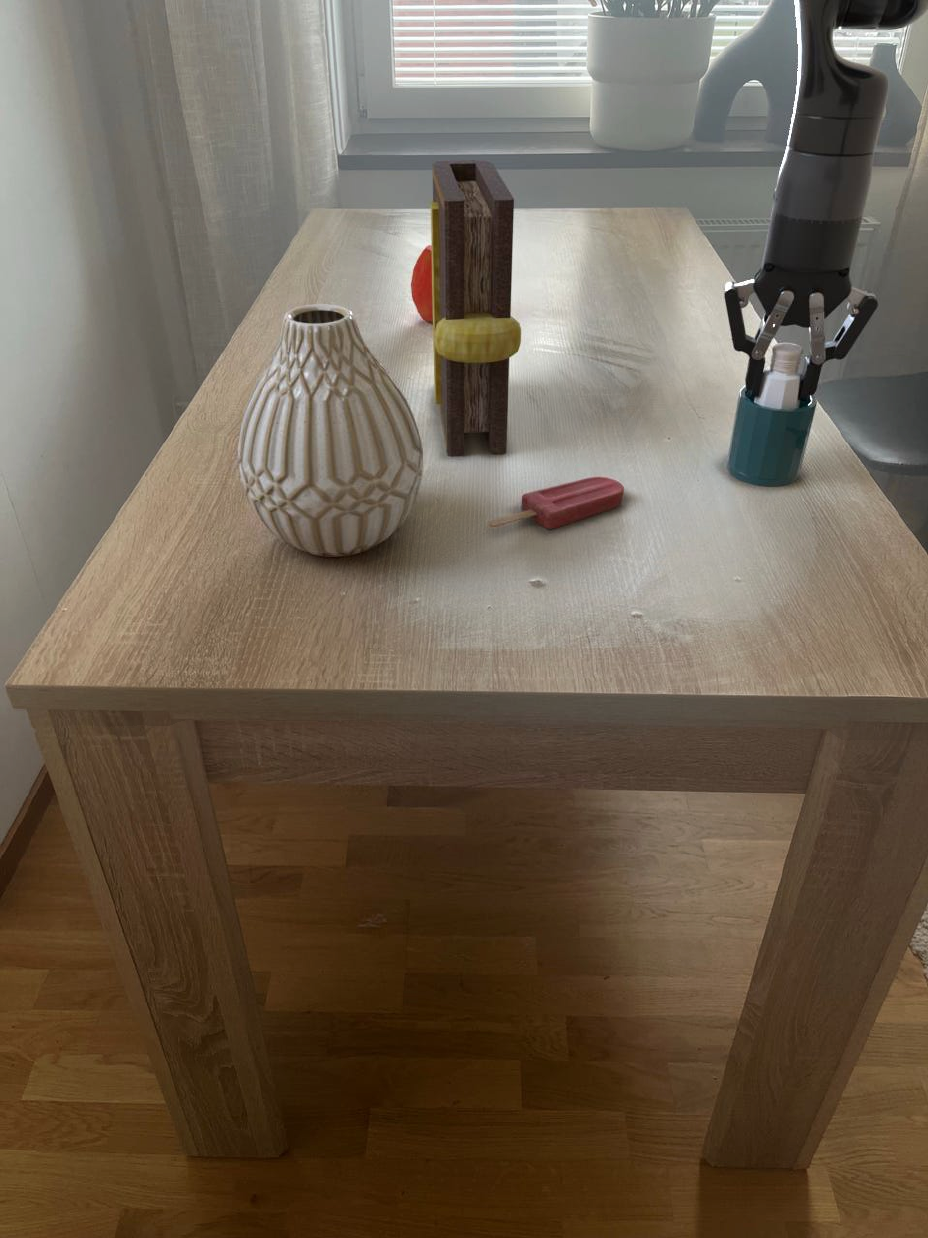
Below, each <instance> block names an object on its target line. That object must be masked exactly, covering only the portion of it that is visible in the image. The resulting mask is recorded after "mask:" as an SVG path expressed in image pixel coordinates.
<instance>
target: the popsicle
mask: <svg viewBox="0 0 928 1238" xmlns="http://www.w3.org/2000/svg"><path fill="white" fill-rule="evenodd" d="M624 492H625V487H624V486H623V484H622V482H620V481H618V480H616V479H613V478H611V477H606V476H593V477H587V478H583V479H579V480H574V481H569V482H566V483H562V484H558V485H554V486H551V487H546V488H542V489H538V490H534V491H529V492H525V493H523V494H522V495H521V511H519V512H517V513H513V514H510V515H507V516H503V517H500V518H497V519H496V518H495V519H493V520H490V521H489V522H488V524H487V525H488V527H490V528H497V527H501V526H504V525H508V524H511V523H515V522H518V521H522V520H525V519H528V518H531V519H533V520H534V521H536V522H537V523H538V524H540V526H542V527H543V528H545V529H546V530H553V529H556V528H559V527H561V526H565V525H567V524H570V523H573V522H576V521H579V520H582V519H585V518H587V517H588V518H589V517H591V516H593V515H597V514H599V513H603V512H606V511H607V510H608V511H609V510H611V509H615V508H616V507H618V506H619V505H621V504H622V502H623V499H624Z"/></svg>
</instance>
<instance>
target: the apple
mask: <svg viewBox="0 0 928 1238" xmlns="http://www.w3.org/2000/svg"><path fill="white" fill-rule="evenodd" d="M410 291H411V298H412V302H413V304H414V306H415V309H416V311H417V313H418V315H419V316H420V317H421V319H422V320H423V321H426V322H428V323H431V324H433V296H432V245H431V244H428V245H426V247H424V249H423V250H422V251H421V253H420V255H419V256H418V258H417V260H416V262H415V265H414V266H413V269H412V275H411V281H410Z"/></svg>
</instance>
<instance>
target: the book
mask: <svg viewBox="0 0 928 1238" xmlns="http://www.w3.org/2000/svg"><path fill="white" fill-rule="evenodd" d="M514 213H515V198H514V197H513V195H512V193H511V192H510V189H509V188H508V187H507V185H506V184H505V182H504V180H503V178H502V176H501V175H500V173H499V172H498V170H497V168H496V167H495V164H494V163H493V162H490V161H487V160H479V159H478V160H476V159H467V160H466V159H464V160H463V159H462V160H459V159H458V160H441V161H435V162H434V163H432V201H430V234H431V237H430V238H431V239H430V241H431V243H430V245H432V296H433V323H432V340H433V342H432V343H433V344H432V345H433V346H432V347H433V388H434V389H433V390H434V391H433V392H434V400H435V405H438V408H439V415H440V420H441V427H442V432H443V438H444V443H445V449H446V456H448V457H462V456H464V455H465V434H474V433H477V434H478V433H484V435H485V439H486V443H487V447H488V453H489V454H490V455H505V454H506V453H507V451H508V450H507V449H508V448H507V445H508V444H507V443H508V417H509V415H508V411H509V386H510V385H509V381H510V380H509V379H510V376H509V375H510V358H511V357H513V356H515V355H516V354H517V353H518V352H519V350H520V347H521V344H522V326H521V323H520V322H519V320H517V319H516V318H515V317H514V316H512V315H511V314H512V313H511V312H512V283H513V282H512V281H513V280H512V279H513V247H514V245H513V244H514V219H515V218H514V216H515V215H514Z"/></svg>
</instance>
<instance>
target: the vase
mask: <svg viewBox="0 0 928 1238" xmlns="http://www.w3.org/2000/svg"><path fill="white" fill-rule="evenodd" d="M282 318H283V319H282V323H281V328H280V332H279V333H280V334H279V339H278V342H277V345H276V349H275V352H274V353H273V355H272V358H271V359H270V360H269V362H268V363H267V365H266V366H265V368H264V370H263V371H262V373H261V375H260V376H259V378H258V380H257V382H256V384H255V386H254V388H253V389H252V392H251V394H250V396H249V398H248V400H247V403H246V405H245V409H244V412H243V416H242V419H241V424H240V428H239V435H238V442H237V454H236V456H237V458H236V459H237V470H238V474H239V479H240V482H241V486H242V490H243V492H244V495H245V497H246V500H247V502H248V504H249V506H250V507H251V509H252V511H253V513H254V514H255V516H256V517H257V518H258V520H259V521H260V523H262V525H263V526H264V527H265V528H266V529H267V530H268V531H269V532H270V533H271V534H272V535H273V536H275V537H276V538H278V539H279V540H280V541H281V542H283V543H285V544H286V545H288V546H290V547H293V548H295V549H297V550H299V551H302V552H304V553H307V554H310V555H314V556H319V557H325V558H326V557H329V558H332V557H333V558H338V557H347V556H353V555H357V554H360V553H364V552H366V551H368V550H370V549H372V548H374V547H376V546H377V545H379V544H380V543H382V542H384V541H385V540H386V539H388V538H390V537H391V536H392V535H393V534H394V533H395V532H396V531H397V530H398V529H400V527H401V526H402V525H403V524H404V523H405V521H406V519H407V518H408V516H409V514H410V513H411V511H412V509H413V507H414V505H415V503H416V501H417V499H418V495H419V492H420V489H421V486H422V485H421V484H422V479H423V472H424V449H423V442H422V438H421V434H420V431H419V430H420V429H419V427H418V424H417V421H416V419H415V416H414V414H413V411H412V408H411V406H410V404H409V402H408V399H407V398H406V396H405V395H404V393H403V391H402V390H401V388H400V386H399V385H398V384H397V382H396V381H395V379H394V378H393V376H392V375H391V374H390V372H389V371H388V370H387V369H386V368H385V366H384V365H383V364H382V363H381V362H380V360H379V359H378V358H377V357H376V356H375V355H374V354H373V353H372V351H371V349H370V348H369V347H368V346H367V344H366V342H365V340H364V338H363V335H362V334H361V330H360V328H359V326H358V323H357V320H356V318H355V316H354V314H353V312H352V311H351V310H350V309H349V308H347V307H345V306H342V305H338V304H330V303H314V304H313V303H312V304H306V305H299V306H297V307H295V308H292V309H290V310H288V311H287V312H286V313H284V315H283V317H282Z"/></svg>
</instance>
